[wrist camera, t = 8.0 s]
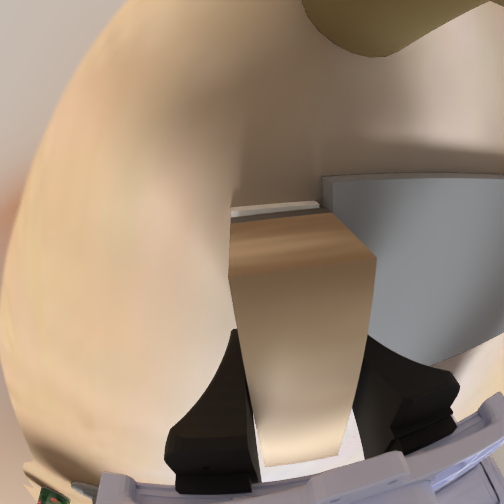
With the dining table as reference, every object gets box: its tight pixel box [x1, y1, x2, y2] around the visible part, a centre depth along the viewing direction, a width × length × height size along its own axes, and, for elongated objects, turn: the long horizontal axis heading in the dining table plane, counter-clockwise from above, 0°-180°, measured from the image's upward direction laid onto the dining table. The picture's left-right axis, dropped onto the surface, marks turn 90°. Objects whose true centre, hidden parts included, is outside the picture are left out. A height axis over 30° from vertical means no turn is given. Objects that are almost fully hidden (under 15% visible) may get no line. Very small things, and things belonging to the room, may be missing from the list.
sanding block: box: [228, 207, 377, 467], centre depth 12 cm, size 12×4×5 cm, turn 6°
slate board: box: [322, 173, 504, 366], centre depth 15 cm, size 14×22×2 cm, turn 96°
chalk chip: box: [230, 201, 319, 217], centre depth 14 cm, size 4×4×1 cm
